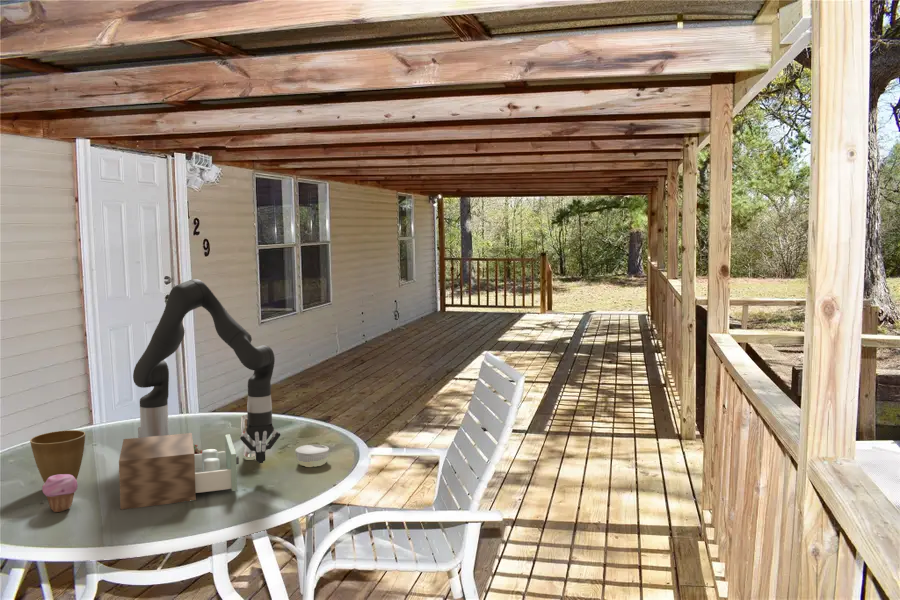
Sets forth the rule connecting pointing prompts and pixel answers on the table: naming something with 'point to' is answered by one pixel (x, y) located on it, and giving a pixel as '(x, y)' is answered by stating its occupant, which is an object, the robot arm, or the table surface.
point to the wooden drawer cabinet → (157, 470)
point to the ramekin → (311, 452)
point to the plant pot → (58, 452)
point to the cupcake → (60, 491)
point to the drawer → (216, 469)
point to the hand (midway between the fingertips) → (260, 462)
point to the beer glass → (243, 429)
